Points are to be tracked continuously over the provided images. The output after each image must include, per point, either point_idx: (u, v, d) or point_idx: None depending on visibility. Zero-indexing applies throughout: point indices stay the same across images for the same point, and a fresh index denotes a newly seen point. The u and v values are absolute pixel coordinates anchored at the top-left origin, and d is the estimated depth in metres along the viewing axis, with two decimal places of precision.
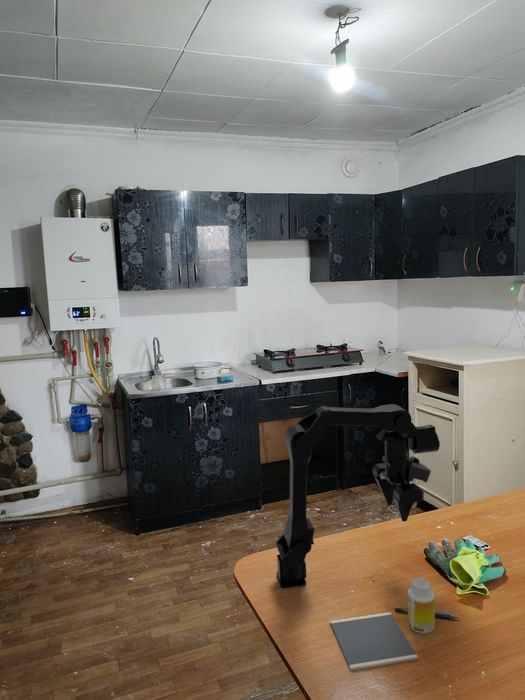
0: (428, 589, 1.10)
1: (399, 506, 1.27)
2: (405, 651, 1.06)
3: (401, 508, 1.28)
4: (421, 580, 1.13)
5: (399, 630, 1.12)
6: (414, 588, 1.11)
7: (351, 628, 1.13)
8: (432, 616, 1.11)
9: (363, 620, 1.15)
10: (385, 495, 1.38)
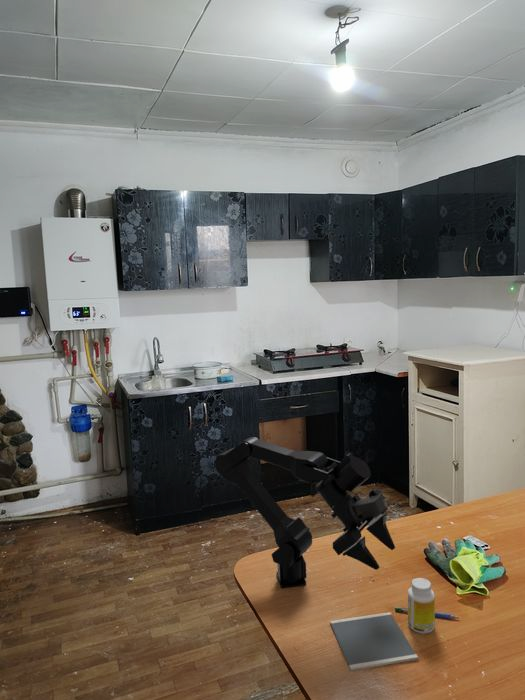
0: (428, 589, 1.10)
1: (353, 557, 1.14)
2: (405, 651, 1.06)
3: (358, 558, 1.13)
4: (421, 580, 1.13)
5: (399, 630, 1.12)
6: (414, 588, 1.11)
7: (351, 628, 1.13)
8: (432, 616, 1.11)
9: (363, 620, 1.15)
10: (381, 541, 1.21)
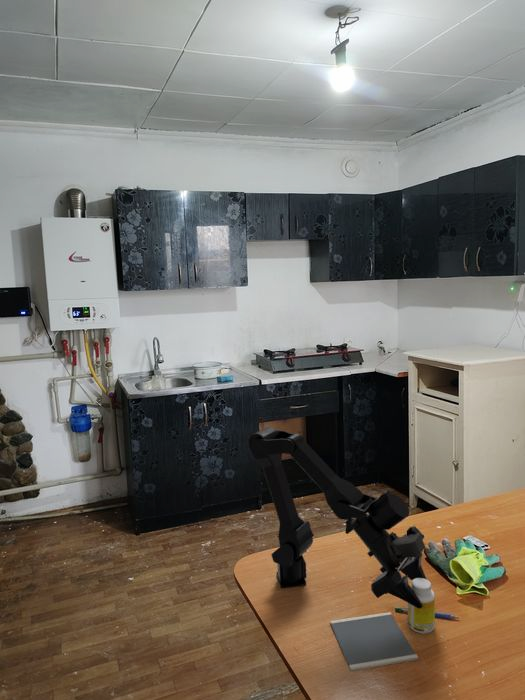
0: (428, 589, 1.10)
1: (395, 595, 1.11)
2: (405, 651, 1.06)
3: (400, 596, 1.10)
4: (421, 580, 1.13)
5: (399, 630, 1.12)
6: (414, 588, 1.11)
7: (351, 628, 1.13)
8: (432, 616, 1.11)
9: (363, 620, 1.15)
10: None
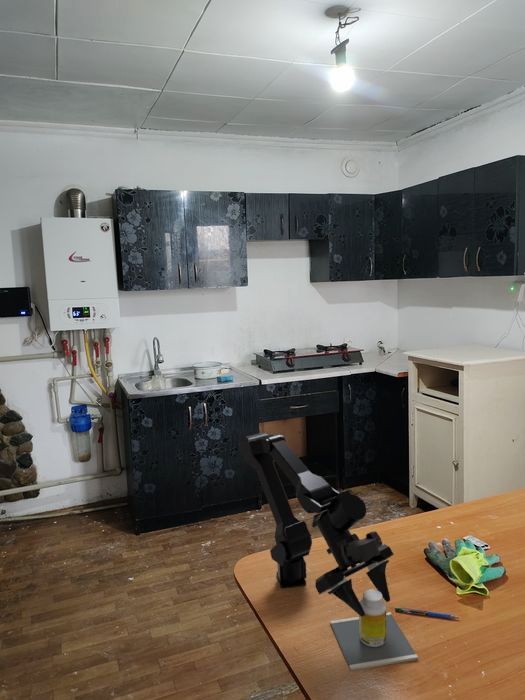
0: (376, 602, 1.06)
1: (340, 597, 1.08)
2: (405, 651, 1.06)
3: (344, 600, 1.08)
4: (375, 592, 1.09)
5: (399, 630, 1.12)
6: (363, 598, 1.08)
7: (351, 628, 1.13)
8: (379, 631, 1.06)
9: None
10: (378, 589, 1.12)
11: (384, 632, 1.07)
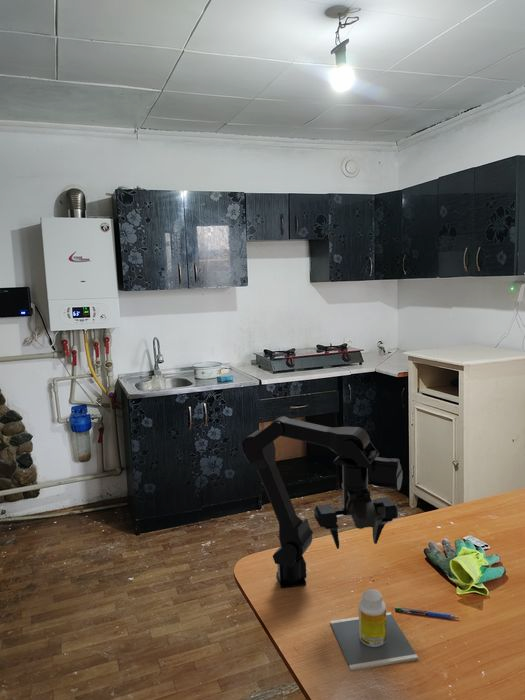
0: (375, 602, 1.06)
1: None
2: (405, 651, 1.06)
3: (329, 529, 1.23)
4: (374, 592, 1.09)
5: (399, 630, 1.12)
6: (363, 598, 1.08)
7: (351, 628, 1.13)
8: (379, 631, 1.06)
9: None
10: (373, 529, 1.24)
11: (384, 632, 1.07)
